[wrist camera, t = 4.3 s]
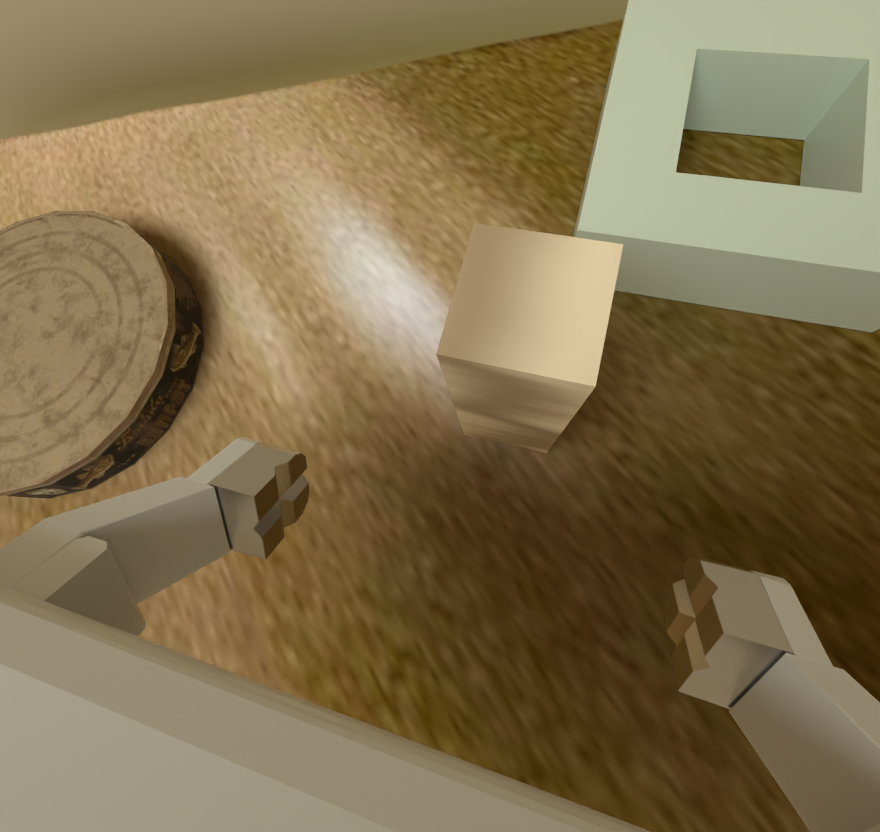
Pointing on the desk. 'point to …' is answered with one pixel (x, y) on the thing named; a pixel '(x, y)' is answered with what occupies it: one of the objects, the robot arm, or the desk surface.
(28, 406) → the wood slice
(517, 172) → the desk surface
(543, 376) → the wooden block
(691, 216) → the pale green square frame
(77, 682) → the robot arm
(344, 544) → the desk surface
